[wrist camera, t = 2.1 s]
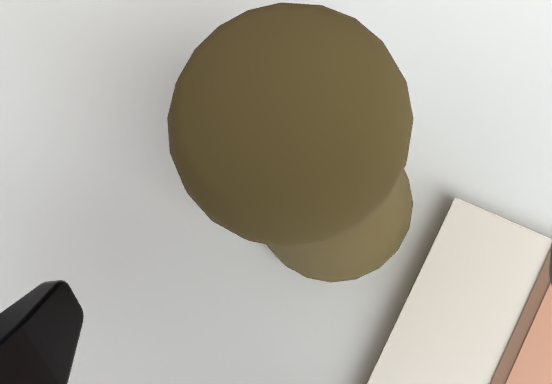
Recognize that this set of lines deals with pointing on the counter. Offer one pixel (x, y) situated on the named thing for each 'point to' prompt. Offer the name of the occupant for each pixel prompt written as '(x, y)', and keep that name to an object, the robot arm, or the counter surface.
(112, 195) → the counter surface
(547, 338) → the picture board
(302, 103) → the cork
